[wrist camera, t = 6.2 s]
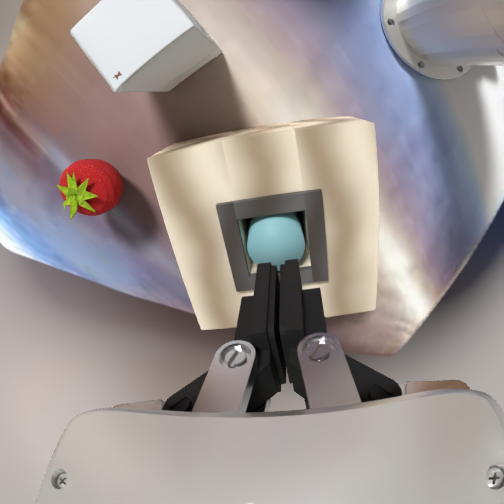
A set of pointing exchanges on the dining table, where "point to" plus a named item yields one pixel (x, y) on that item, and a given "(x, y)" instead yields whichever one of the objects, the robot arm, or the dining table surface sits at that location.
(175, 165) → the collar block
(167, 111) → the dining table surface
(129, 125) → the dining table surface
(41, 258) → the dining table surface
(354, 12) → the dining table surface
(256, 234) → the teal peg
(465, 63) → the robot arm
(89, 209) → the strawberry
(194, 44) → the supplement box
